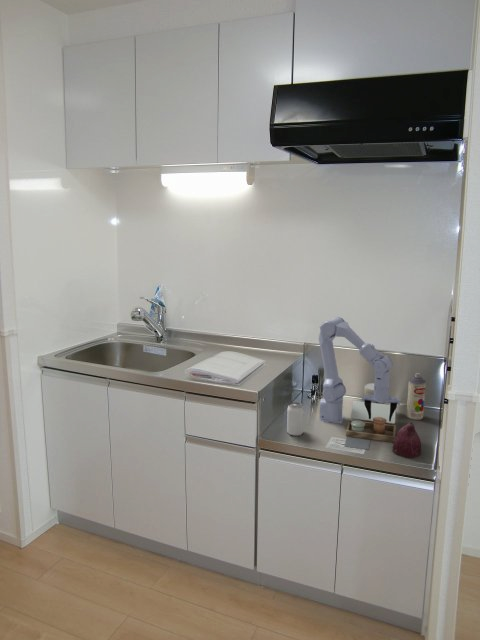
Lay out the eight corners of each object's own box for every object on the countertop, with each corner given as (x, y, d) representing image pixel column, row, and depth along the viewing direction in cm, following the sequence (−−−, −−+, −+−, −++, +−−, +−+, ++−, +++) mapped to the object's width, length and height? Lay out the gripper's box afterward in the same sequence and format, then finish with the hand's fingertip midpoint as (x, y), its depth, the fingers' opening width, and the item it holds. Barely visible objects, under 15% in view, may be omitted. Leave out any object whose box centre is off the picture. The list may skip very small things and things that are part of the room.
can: (294, 427, 206) (294, 400, 203) (306, 432, 202) (306, 404, 199) (283, 432, 202) (284, 405, 199) (296, 437, 197) (296, 409, 194)
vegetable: (421, 467, 180) (431, 436, 173) (392, 461, 182) (401, 430, 174) (418, 447, 189) (428, 416, 182) (390, 442, 191) (399, 411, 184)
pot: (371, 434, 198) (372, 421, 197) (372, 428, 203) (373, 416, 202) (385, 436, 197) (386, 423, 195) (386, 430, 201) (386, 417, 200)
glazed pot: (350, 434, 198) (350, 425, 197) (351, 429, 203) (351, 419, 202) (363, 436, 196) (364, 427, 195) (365, 430, 201) (365, 421, 200)
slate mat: (344, 447, 189) (344, 446, 189) (346, 438, 196) (346, 436, 196) (368, 450, 186) (368, 449, 186) (370, 441, 193) (370, 440, 193)
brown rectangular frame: (345, 437, 197) (346, 424, 196) (351, 417, 215) (351, 405, 214) (394, 443, 191) (395, 430, 190) (396, 422, 209) (396, 410, 208)
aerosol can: (412, 421, 210) (415, 377, 205) (403, 415, 216) (405, 371, 212) (426, 419, 212) (429, 375, 207) (416, 413, 218) (419, 370, 214)
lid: (353, 400, 215) (353, 401, 215) (350, 418, 207) (350, 418, 207) (396, 405, 210) (395, 406, 210) (394, 423, 202) (394, 424, 202)
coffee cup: (374, 418, 214) (375, 392, 211) (358, 410, 222) (359, 385, 219) (389, 413, 219) (391, 387, 216) (374, 406, 227) (375, 381, 224)
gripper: (361, 388, 194) (360, 421, 197) (400, 392, 189) (398, 425, 192) (363, 382, 200) (361, 414, 204) (400, 386, 196) (399, 418, 199)
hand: (379, 419), depth 198 cm, fingers open, 7 cm apart
